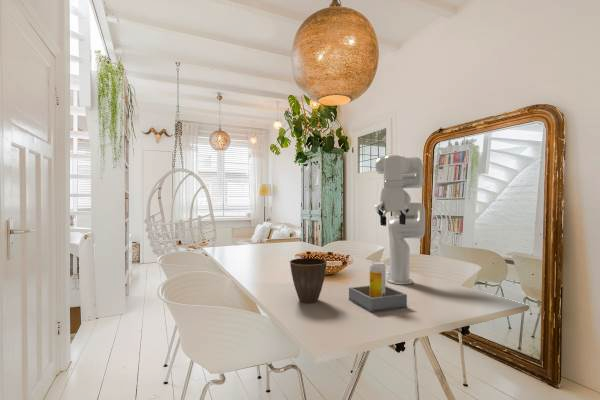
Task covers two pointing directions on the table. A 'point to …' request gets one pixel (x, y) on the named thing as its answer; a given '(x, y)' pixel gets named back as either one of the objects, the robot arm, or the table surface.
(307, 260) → the plant pot
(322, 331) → the table surface
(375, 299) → the box
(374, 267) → the beer can
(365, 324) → the table surface
